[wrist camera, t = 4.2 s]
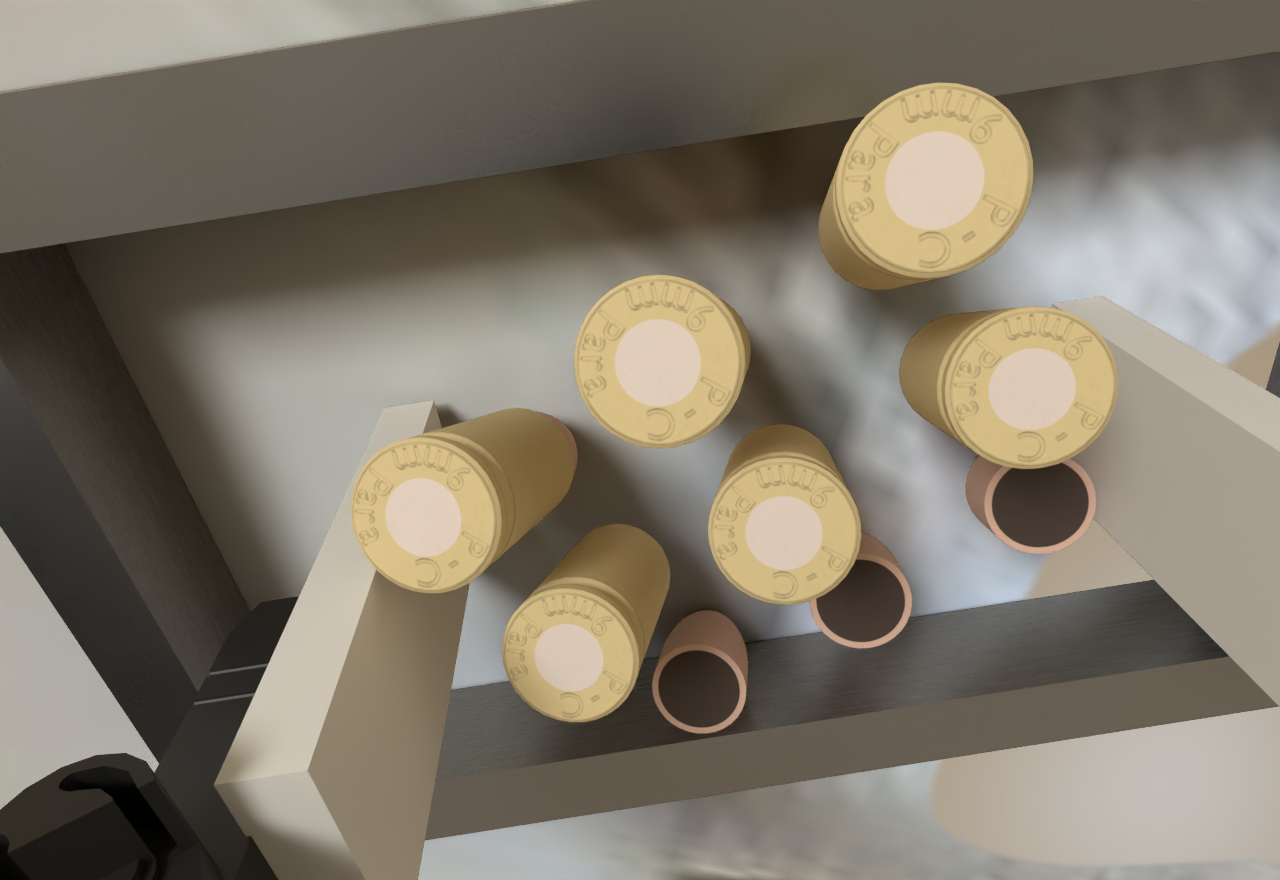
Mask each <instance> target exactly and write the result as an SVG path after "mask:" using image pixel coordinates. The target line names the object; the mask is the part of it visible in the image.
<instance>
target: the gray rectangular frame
mask: <svg viewBox="0 0 1280 880" xmlns="http://www.w3.org/2000/svg"><path fill="white" fill-rule="evenodd" d="M1277 51H1280V0H578V1H572V2H565V3H559V4H553V5H546V6H540V7H534V8H527V9H521V10H515V11H508V12H502V13H496V14H490V15H483V16H477V17H471V18H464V19H458V20H452V21H445V22H439V23H433V24H426V25H420V26H414V27H407V28H401V29H395V30H388V31H382V32H376V33H370V34H363V35H357V36H351V37H344V38H338V39H332V40H325V41H319V42H313V43H306V44H300V45H294V46H287V47H281V48H275V49H269V50H262V51H256V52H250V53H243V54H237V55H231V56H224V57H218V58H212V59H205V60H199V61H193V62H186V63H180V64H174V65H168V66H161V67H155V68H149V69H142V70H136V71H130V72H123V73H117V74H111V75H104V76H98V77H92V78H85V79H79V80H73V81H67V82H60V83H54V84H48V85H41V86H35V87H29V88H22V89H16V90H10V91H3V92H0V526H1V528H2V529H3V531H4V532H5V534H6V535H7V537H8V538H9V540H10V541H11V543H12V544H13V546H14V547H15V549H16V550H17V552H18V553H19V555H20V556H21V558H22V559H23V561H24V562H25V564H26V565H27V567H28V568H29V570H30V571H31V573H32V574H33V576H34V577H35V579H36V580H37V582H38V583H39V585H40V586H41V588H42V589H43V591H44V592H45V594H46V595H47V597H48V598H49V600H50V601H51V603H52V604H53V606H54V607H55V609H56V610H57V612H58V613H59V615H60V616H61V617H62V619H63V620H64V622H65V623H66V625H67V626H68V628H69V629H70V631H71V632H72V634H73V635H74V637H75V638H76V640H77V641H78V643H79V644H80V646H81V647H82V649H83V650H84V652H85V653H86V655H87V656H88V658H89V659H90V661H91V662H92V664H93V665H94V667H95V668H96V670H97V671H98V673H99V674H100V676H101V677H102V679H103V680H104V682H105V683H106V685H107V686H108V688H109V689H110V691H111V692H112V694H113V695H114V697H115V698H116V700H117V701H118V703H119V704H120V706H121V707H122V709H123V710H124V712H125V713H126V715H127V716H128V718H129V719H130V721H131V722H132V724H133V725H134V727H135V728H136V730H137V731H138V733H139V734H140V736H141V737H142V739H143V740H144V742H145V743H146V745H147V746H148V747H149V749H150V750H151V752H152V753H153V755H154V756H155V758H156V759H157V761H158V762H159V764H160V762H161V760H162V758H163V756H164V754H165V752H166V750H167V749H168V747H169V745H170V743H171V741H172V739H173V737H174V736H175V734H176V732H177V730H178V728H179V726H180V724H181V722H182V721H183V719H184V717H185V715H186V713H187V711H188V709H189V708H192V707H194V698H195V696H196V695H197V693H198V691H199V689H200V687H201V685H202V683H203V681H204V680H205V678H206V677H210V671H209V670H210V668H211V667H212V665H213V663H214V661H215V659H216V657H217V655H218V653H219V652H220V650H221V648H222V646H223V644H224V642H225V640H226V639H227V637H228V635H229V634H230V633H231V632H232V631H233V630H234V629H235V628H236V627H237V626H238V625H239V624H240V623H241V622H242V621H243V620H244V619H245V618H246V617H247V616H248V615H249V614H250V612H249V610H248V608H247V606H246V604H245V602H244V600H243V598H242V596H241V594H240V592H239V590H238V588H237V586H236V584H235V583H234V581H233V579H232V577H231V575H230V573H229V571H228V569H227V567H226V565H225V563H224V561H223V559H222V557H221V555H220V553H219V551H218V549H217V547H216V545H215V543H214V541H213V539H212V537H211V535H210V533H209V531H208V529H207V527H206V526H205V524H204V522H203V520H202V518H201V516H200V514H199V512H198V510H197V508H196V506H195V504H194V502H193V500H192V498H191V496H190V494H189V492H188V490H187V488H186V486H185V484H184V482H183V480H182V478H181V476H180V474H179V472H178V470H177V468H176V467H175V465H174V463H173V461H172V459H171V457H170V455H169V453H168V451H167V449H166V447H165V445H164V443H163V441H162V439H161V437H160V435H159V433H158V431H157V429H156V427H155V425H154V423H153V421H152V419H151V417H150V415H149V413H148V411H147V409H146V408H145V406H144V404H143V402H142V400H141V398H140V396H139V394H138V392H137V390H136V388H135V386H134V384H133V382H132V380H131V378H130V376H129V374H128V372H127V370H126V368H125V366H124V364H123V362H122V360H121V358H120V356H119V354H118V352H117V351H116V349H115V347H114V345H113V343H112V341H111V339H110V337H109V335H108V333H107V331H106V329H105V327H104V325H103V323H102V321H101V319H100V317H99V315H98V313H97V311H96V309H95V307H94V305H93V303H92V301H91V299H90V297H89V295H88V293H87V292H86V290H85V288H84V286H83V284H82V282H81V280H80V278H79V276H78V274H77V272H76V270H75V268H74V266H73V264H72V262H71V260H70V258H69V256H68V254H67V252H66V250H65V248H64V246H63V243H69V242H75V241H82V240H88V239H94V238H101V237H107V236H113V235H120V234H126V233H132V232H139V231H145V230H151V229H158V228H164V227H170V226H176V225H183V224H189V223H195V222H202V221H208V220H214V219H221V218H227V217H233V216H240V215H246V214H252V213H259V212H265V211H271V210H278V209H284V208H290V207H297V206H303V205H309V204H316V203H322V202H328V201H335V200H341V199H347V198H354V197H360V196H366V195H373V194H379V193H385V192H392V191H398V190H404V189H411V188H417V187H423V186H430V185H436V184H442V183H449V182H455V181H461V180H467V179H474V178H480V177H486V176H493V175H499V174H505V173H512V172H518V171H524V170H531V169H537V168H543V167H550V166H556V165H562V164H569V163H575V162H581V161H588V160H594V159H600V158H607V157H613V156H619V155H626V154H632V153H638V152H645V151H651V150H657V149H664V148H670V147H676V146H683V145H689V144H695V143H702V142H708V141H714V140H721V139H727V138H733V137H739V136H746V135H752V134H758V133H765V132H771V131H777V130H784V129H790V128H796V127H803V126H809V125H815V124H822V123H828V122H834V121H841V120H847V119H853V118H860V117H865V116H866V115H867V114H868V113H869V112H871V111H872V110H873V109H874V108H875V107H877V106H878V105H879V104H880V103H881V102H883V101H884V100H886V99H888V98H890V97H891V96H893V95H895V94H897V93H899V92H901V91H903V90H906V89H909V88H912V87H915V86H918V85H924V84H931V83H938V82H939V83H956V84H961V85H965V86H969V87H973V88H976V89H979V90H980V91H982V92H984V93H986V94H988V95H990V96H992V97H993V96H999V95H1005V94H1012V93H1018V92H1024V91H1030V90H1037V89H1043V88H1049V87H1056V86H1062V85H1068V84H1075V83H1081V82H1087V81H1094V80H1100V79H1106V78H1113V77H1119V76H1125V75H1132V74H1138V73H1144V72H1151V71H1157V70H1163V69H1170V68H1176V67H1182V66H1189V65H1195V64H1201V63H1208V62H1214V61H1220V60H1227V59H1233V58H1239V57H1246V56H1252V55H1258V54H1265V53H1271V52H1277ZM1266 390H1267V391H1268V392H1270V393H1272V394H1274V395H1275V396H1277V397H1279V398H1280V343H1279V347H1278V350H1277V354H1276V358H1275V361H1274V364H1273V368H1272V371H1271V374H1270V378H1269V381H1268V385H1267V388H1266ZM745 647H746V651H747V658H748V676H747V691H746V699H745V704H744V706H743V709H742V711H741V713H740V714H739V716H738V717H737V718H736V719H735V720H734V721H733V722H732V723H731V724H730V725H728V726H727V727H725V728H724V729H721V730H719V731H716V732H712V733H693V732H688V731H685V730H683V729H680V728H678V727H677V726H675V725H673V724H672V723H671V722H670V721H668V720H667V719H666V718H665V717H664V716H663V714H662V713H661V712H660V710H659V709H658V707H657V705H656V703H655V700H654V696H653V691H652V681H653V676H654V673H655V670H656V667H657V664H658V661H659V658H653V659H647V660H643V663H642V665H641V668H640V671H639V673H638V676H637V679H636V682H635V685H634V687H633V689H632V691H631V692H630V694H629V696H628V697H627V699H626V700H625V701H624V702H623V703H622V704H621V705H620V706H619V707H618V708H617V709H615V710H614V711H612V712H611V713H610V714H608V715H606V716H603V717H601V718H599V719H596V720H592V721H587V722H566V721H561V720H556V719H553V718H551V717H548V716H546V715H543V714H542V713H540V712H538V711H537V710H535V709H533V708H532V707H531V706H530V705H529V704H528V703H526V702H525V701H524V700H523V699H522V698H521V697H520V695H519V694H518V693H517V692H516V690H515V689H514V688H513V686H512V684H511V682H510V681H507V682H500V683H494V684H488V685H481V686H475V687H469V688H462V689H456V690H451V693H450V699H449V704H448V710H447V716H446V721H445V727H444V733H443V739H442V744H441V750H440V756H439V761H438V767H437V773H436V778H435V784H434V790H433V796H432V801H431V807H430V813H429V818H428V824H427V830H426V836H425V840H430V839H436V838H443V837H449V836H455V835H462V834H468V833H474V832H481V831H487V830H494V829H500V828H506V827H513V826H519V825H526V824H532V823H538V822H545V821H551V820H557V819H564V818H570V817H577V816H583V815H589V814H596V813H602V812H608V811H615V810H621V809H628V808H634V807H640V806H647V805H653V804H659V803H666V802H672V801H679V800H685V799H691V798H698V797H704V796H710V795H717V794H723V793H730V792H736V791H742V790H749V789H755V788H761V787H768V786H774V785H781V784H787V783H793V782H800V781H806V780H813V779H819V778H825V777H832V776H838V775H844V774H851V773H857V772H864V771H870V770H876V769H883V768H889V767H895V766H902V765H908V764H915V763H921V762H927V761H934V760H940V759H946V758H952V757H959V756H966V755H971V754H978V753H984V752H991V751H997V750H1004V749H1010V748H1017V747H1023V746H1029V745H1036V744H1041V743H1048V742H1054V741H1061V740H1068V739H1074V738H1080V737H1087V736H1092V735H1099V734H1106V733H1112V732H1119V731H1125V730H1131V729H1137V728H1144V727H1151V726H1157V725H1163V724H1169V723H1176V722H1182V721H1188V720H1195V719H1201V718H1208V717H1214V716H1221V715H1227V714H1233V713H1240V712H1246V711H1252V710H1259V709H1265V708H1272V707H1277V706H1278V705H1277V704H1276V703H1275V702H1274V701H1273V700H1272V699H1271V698H1270V697H1269V696H1268V695H1267V694H1266V693H1265V692H1264V691H1263V690H1262V689H1261V688H1260V687H1259V686H1258V685H1257V684H1256V683H1255V682H1254V681H1253V679H1252V678H1251V677H1250V676H1249V675H1248V674H1247V673H1246V672H1245V671H1244V670H1243V669H1242V668H1241V667H1240V666H1239V665H1238V664H1237V663H1236V662H1235V661H1234V660H1233V659H1232V658H1231V657H1230V656H1229V655H1228V654H1227V653H1226V652H1225V651H1224V650H1223V649H1222V648H1221V647H1220V646H1219V645H1218V644H1217V643H1216V642H1215V641H1214V640H1213V639H1212V638H1211V637H1210V636H1209V635H1208V634H1207V633H1206V632H1205V631H1204V630H1203V629H1202V628H1201V627H1200V626H1199V625H1198V624H1197V623H1196V622H1195V621H1194V620H1193V619H1192V618H1191V617H1190V616H1189V615H1188V614H1187V613H1186V612H1185V611H1184V610H1183V609H1182V608H1181V607H1180V606H1179V604H1178V603H1177V602H1176V601H1175V600H1174V599H1173V598H1172V597H1171V596H1170V595H1169V594H1168V593H1167V592H1166V591H1165V590H1164V589H1163V588H1162V587H1161V586H1160V585H1159V584H1158V583H1157V582H1156V581H1155V580H1150V581H1143V582H1137V583H1131V584H1124V585H1118V586H1112V587H1105V588H1099V589H1093V590H1087V591H1080V592H1073V593H1067V594H1061V595H1055V596H1048V597H1042V598H1035V599H1029V600H1022V601H1016V602H1010V603H1003V604H997V605H991V606H984V607H978V608H972V609H965V610H959V611H952V612H946V613H940V614H933V615H927V616H921V617H914V618H909V619H908V621H907V623H906V625H905V626H904V628H903V629H902V631H901V632H900V633H899V634H898V635H896V636H895V637H894V638H893V639H891V640H890V641H888V642H887V643H884V644H882V645H879V646H876V647H871V648H853V647H848V646H845V645H842V644H839V643H837V642H836V641H834V640H832V639H830V638H829V637H828V636H827V635H826V634H825V633H823V632H819V633H812V634H806V635H800V636H793V637H787V638H781V639H774V640H768V641H761V642H755V643H749V644H745Z"/></svg>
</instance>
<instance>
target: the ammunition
mask: <svg viewBox="0 0 1280 880" xmlns="http://www.w3.org/2000/svg"><path fill="white" fill-rule="evenodd" d="M1032 185H1033V159H1032V154H1031V150H1030V146H1029V142H1028V140H1027V138H1026V135H1025V133H1024V131H1023V129H1022V127H1021V125H1020V123H1019V122H1018V121H1017V120H1016V118H1015V117H1014V116H1013V115H1012V113H1011V112H1010V111H1009V109H1007V108H1006V107H1005V106H1004V105H1003V104H1001V103H1000V102H999V101H998V100H996V99H995V98H994V97H992V96H990V95H988V94H986V93H984V92H982V91H980V90H979V89H976V88H973V87H969V86H965V85H961V84H956V83H939V82H938V83H931V84H924V85H918V86H915V87H912V88H909V89H906V90H903V91H901V92H899V93H897V94H895V95H893V96H891V97H890V98H888V99H886V100H884V101H883V102H881V103H880V104H879V105H878V106H877V107H875V108H874V109H873V110H872V111H871V112H869V113H868V114H867V115H866V116H865V118H864V119H863V120H862V121H861V122H860V124H859V125H858V126H857V127H856V129H855V130H854V131H853V133H852V135H851V137H850V139H849V140H848V142H847V144H846V146H845V148H844V150H843V153H842V156H841V158H840V161H839V163H838V166H837V169H836V171H835V174H834V177H833V179H832V182H831V185H830V187H829V190H828V193H827V195H826V198H825V201H824V204H823V207H822V210H821V213H820V218H819V226H818V228H819V240H820V244H821V248H822V251H823V253H824V255H825V257H826V259H827V261H828V263H829V264H830V265H831V267H832V268H833V269H834V270H835V272H837V273H838V274H839V275H840V276H841V277H842V278H844V279H845V280H847V281H849V282H851V283H852V284H854V285H856V286H860V287H863V288H866V289H874V290H886V289H894V288H899V287H903V286H907V285H911V284H916V283H920V282H924V281H929V280H933V279H937V278H941V277H946V276H949V275H952V274H956V273H959V272H963V271H966V270H968V269H970V268H972V267H974V266H976V265H978V264H980V263H981V262H983V261H985V260H986V259H987V258H988V257H990V256H991V255H992V254H994V253H995V252H996V251H998V250H999V249H1000V248H1001V247H1002V246H1003V244H1004V243H1005V242H1006V241H1007V240H1008V239H1009V238H1010V237H1011V236H1012V234H1013V233H1014V231H1015V230H1016V228H1017V226H1018V225H1019V223H1020V222H1021V220H1022V218H1023V216H1024V214H1025V211H1026V208H1027V206H1028V203H1029V201H1030V196H1031V191H1032ZM750 355H751V348H750V339H749V335H748V332H747V329H746V327H745V325H744V323H743V321H742V319H741V317H740V316H739V315H738V314H737V312H736V311H735V310H734V309H733V308H732V307H731V306H730V305H729V304H727V303H726V302H725V301H724V300H722V299H721V298H719V297H718V296H716V295H715V294H713V293H712V292H710V291H709V290H707V289H705V288H704V287H702V286H700V285H698V284H696V283H694V282H693V281H689V280H686V279H683V278H680V277H676V276H667V275H651V276H642V277H639V278H636V279H632V280H629V281H626V282H624V283H622V284H621V285H619V286H617V287H615V288H613V289H612V290H610V291H609V292H608V293H607V294H605V295H604V296H603V297H602V298H601V299H600V300H598V302H597V303H596V304H595V305H594V307H593V308H592V309H591V310H590V312H589V313H588V314H587V316H586V318H585V320H584V322H583V324H582V326H581V328H580V331H579V334H578V338H577V341H576V344H575V354H574V368H575V378H576V382H577V385H578V388H579V392H580V395H581V397H582V399H583V401H584V402H585V404H586V406H587V408H588V410H589V411H590V412H591V414H592V415H593V416H594V417H595V419H596V420H597V421H598V422H599V423H600V424H601V425H602V426H603V427H604V428H606V429H607V430H608V431H609V432H610V433H612V434H614V435H615V436H617V437H619V438H621V439H622V440H624V441H626V442H629V443H632V444H635V445H638V446H642V447H649V448H657V449H658V448H673V447H677V446H681V445H685V444H688V443H691V442H693V441H695V440H697V439H699V438H701V437H703V436H705V435H706V434H708V433H709V432H710V431H712V430H713V429H714V428H716V427H717V426H718V425H719V424H720V423H721V422H722V421H723V419H724V418H725V417H726V416H727V415H728V414H729V412H730V411H731V409H732V407H733V405H734V404H735V402H736V400H737V398H738V396H739V393H740V391H741V388H742V385H743V382H744V379H745V376H746V373H747V370H748V367H749V363H750ZM899 374H900V384H901V388H902V392H903V394H904V396H905V398H906V400H907V402H908V403H909V404H910V406H911V407H912V408H913V409H914V411H916V412H917V413H918V414H919V415H920V416H922V417H923V418H924V419H926V420H927V421H929V422H930V423H932V424H933V425H935V426H936V427H938V428H939V429H941V430H942V431H944V432H945V433H947V434H948V435H950V436H951V437H953V438H954V439H956V440H957V441H958V442H960V443H961V444H963V445H964V446H966V447H967V448H969V449H971V450H972V451H974V452H975V453H977V454H978V455H980V456H979V457H978V458H977V459H976V460H975V462H974V463H973V465H972V466H971V468H970V470H969V473H968V476H967V480H966V497H967V501H968V504H969V506H970V508H971V510H972V512H973V513H974V514H975V516H976V517H977V518H978V519H979V520H980V521H981V522H982V523H983V524H984V525H985V526H986V527H987V528H988V529H989V530H990V531H991V532H993V533H994V534H995V535H996V536H997V537H998V538H999V539H1000V540H1001V541H1003V542H1004V543H1005V544H1006V545H1008V546H1010V547H1012V548H1014V549H1016V550H1019V551H1022V552H1025V553H1032V554H1047V553H1051V552H1056V551H1059V550H1061V549H1064V548H1066V547H1068V546H1070V545H1071V544H1073V543H1074V542H1076V541H1077V540H1078V539H1079V538H1080V537H1081V536H1082V535H1083V534H1084V533H1085V532H1086V530H1087V529H1088V527H1089V526H1090V524H1091V522H1092V519H1093V517H1094V514H1095V509H1096V493H1095V489H1094V485H1093V483H1092V481H1091V479H1090V477H1089V475H1088V474H1087V473H1086V472H1085V470H1084V469H1083V468H1082V467H1081V466H1080V465H1078V464H1077V463H1076V462H1075V461H1073V460H1071V459H1070V458H1072V457H1074V456H1075V455H1077V454H1078V453H1080V452H1081V451H1083V450H1084V449H1086V448H1087V447H1088V446H1089V445H1090V444H1091V443H1092V442H1093V441H1094V440H1095V439H1096V438H1097V437H1098V436H1099V435H1100V434H1101V432H1102V431H1103V429H1104V428H1105V426H1106V425H1107V423H1108V422H1109V420H1110V417H1111V415H1112V413H1113V410H1114V408H1115V404H1116V399H1117V394H1118V372H1117V368H1116V363H1115V359H1114V357H1113V355H1112V353H1111V350H1110V348H1109V346H1108V344H1107V343H1106V342H1105V340H1104V339H1103V338H1102V337H1101V335H1100V334H1099V333H1098V331H1096V330H1095V329H1094V328H1093V327H1092V326H1090V325H1089V324H1088V323H1087V322H1086V321H1084V320H1082V319H1080V318H1079V317H1077V316H1075V315H1073V314H1071V313H1068V312H1065V311H1062V310H1058V309H1055V308H1047V307H1037V306H1036V307H1024V308H1013V309H1002V310H992V311H981V312H970V313H960V314H950V315H947V316H943V317H940V318H937V319H935V320H933V321H931V322H929V323H928V324H926V325H925V326H924V327H922V328H921V329H920V330H918V332H917V333H916V334H915V335H914V336H913V337H912V338H911V340H910V341H909V343H908V344H907V346H906V348H905V350H904V353H903V355H902V358H901V363H900V369H899ZM577 459H578V454H577V446H576V442H575V439H574V437H573V435H572V433H571V432H570V430H569V429H568V428H567V427H566V426H565V425H564V424H563V423H562V422H561V421H559V420H558V419H556V418H554V417H553V416H551V415H548V414H545V413H541V412H537V411H532V410H529V409H522V408H512V409H505V410H502V411H499V412H495V413H492V414H488V415H485V416H482V417H478V418H475V419H471V420H468V421H465V422H461V423H458V424H454V425H451V426H448V427H444V428H441V429H437V430H434V431H430V432H427V433H424V434H420V435H417V436H413V437H410V438H407V439H403V440H400V441H397V442H393V443H392V444H390V445H388V446H386V447H384V448H382V449H381V450H379V451H378V452H377V453H376V454H375V455H374V456H373V457H371V458H370V459H369V461H368V462H367V463H366V465H365V466H364V467H363V469H362V470H361V472H360V474H359V476H358V478H357V480H356V482H355V485H354V489H353V493H352V498H351V519H352V526H353V530H354V533H355V536H356V539H357V542H358V544H359V546H360V548H361V550H362V551H363V553H364V555H365V557H366V558H367V559H368V560H369V562H370V563H371V564H372V565H373V567H374V568H375V569H376V570H377V571H379V572H380V573H381V574H382V575H383V576H384V577H385V578H387V579H388V580H390V581H392V582H393V583H395V584H397V585H398V586H401V587H403V588H406V589H409V590H412V591H416V592H422V593H444V592H448V591H452V590H456V589H458V588H460V587H462V586H464V585H466V584H469V583H470V582H471V581H473V580H474V579H475V578H476V577H478V576H479V575H480V574H481V573H483V572H484V571H485V570H486V569H487V568H488V567H489V566H490V565H491V564H492V563H494V562H495V561H496V560H497V559H498V558H499V557H501V556H502V555H503V554H504V553H505V552H506V551H507V550H508V549H510V548H511V547H512V546H513V545H514V544H515V543H516V542H517V541H518V540H520V539H521V538H522V537H523V536H524V535H525V534H526V533H527V532H529V531H530V530H531V529H532V528H533V527H534V526H535V525H536V524H537V523H539V522H540V521H541V520H542V519H543V518H544V517H545V516H546V515H548V514H549V513H550V512H551V511H552V510H553V509H554V508H555V507H556V506H558V505H559V503H560V502H561V501H562V500H563V499H564V497H565V496H566V494H567V492H568V490H569V488H570V486H571V482H572V479H573V477H574V473H575V470H576V467H577ZM708 537H709V544H710V548H711V551H712V555H713V557H714V559H715V561H716V563H717V565H718V567H719V569H720V570H721V572H722V573H723V574H724V575H725V577H726V578H727V579H728V580H729V581H730V582H731V583H732V584H733V585H734V586H736V587H737V588H738V589H739V590H740V591H742V592H744V593H746V594H747V595H749V596H751V597H753V598H755V599H758V600H761V601H764V602H767V603H774V604H780V605H784V604H799V603H803V602H808V601H809V602H810V608H811V612H812V615H813V618H814V620H815V622H816V624H817V625H818V626H819V628H820V629H821V630H822V632H823V633H825V634H826V635H827V636H828V637H829V638H830V639H832V640H834V641H836V642H837V643H839V644H842V645H845V646H848V647H853V648H871V647H876V646H879V645H882V644H884V643H887V642H888V641H890V640H891V639H893V638H894V637H895V636H896V635H898V634H899V633H900V632H901V631H902V629H903V628H904V626H905V625H906V623H907V621H908V619H909V616H910V614H911V608H912V594H911V590H910V587H909V584H908V582H907V580H906V578H905V576H904V574H903V572H902V571H901V569H900V567H899V565H898V563H897V561H896V559H895V558H894V556H893V555H892V554H891V552H890V551H889V550H888V549H887V548H886V547H885V546H884V545H883V544H882V543H881V542H879V541H878V540H877V539H875V538H873V537H872V536H870V535H868V534H866V533H863V532H861V521H860V517H859V513H858V510H857V506H856V504H855V502H854V500H853V498H852V496H851V494H850V492H849V490H848V489H847V487H846V485H845V483H844V481H843V479H842V477H841V475H840V473H839V471H838V469H837V467H836V465H835V463H834V461H833V459H832V457H831V456H830V454H829V452H828V450H827V448H826V447H825V446H824V445H823V443H822V442H821V441H820V440H819V439H818V438H816V437H815V436H814V435H813V434H811V433H810V432H808V431H806V430H804V429H802V428H799V427H796V426H793V425H784V424H777V425H769V426H765V427H762V428H759V429H757V430H755V431H753V432H751V433H750V434H748V435H747V436H746V437H744V438H743V439H742V440H741V441H740V442H739V443H738V445H737V446H736V447H735V449H734V450H733V452H732V454H731V456H730V458H729V461H728V464H727V466H726V469H725V472H724V475H723V477H722V480H721V483H720V486H719V488H718V491H717V494H716V497H715V500H714V503H713V505H712V508H711V511H710V515H709V523H708ZM670 577H671V576H670V566H669V563H668V560H667V557H666V555H665V553H664V551H663V549H662V548H661V546H660V545H659V544H658V542H657V541H656V540H655V539H654V538H652V537H651V536H650V535H649V534H648V533H646V532H644V531H642V530H641V529H639V528H636V527H633V526H630V525H624V524H609V525H605V526H601V527H599V528H597V529H595V530H592V531H591V532H590V533H588V534H587V535H586V536H584V537H583V538H582V539H581V540H580V542H579V543H578V544H577V545H576V546H575V547H574V548H573V549H572V550H571V551H570V552H569V553H568V555H567V556H566V557H565V558H564V559H563V560H562V561H561V562H560V563H559V564H558V565H557V566H556V568H555V569H554V570H553V571H552V572H551V573H550V574H549V575H548V576H547V577H546V578H545V579H544V581H543V582H542V583H541V584H540V585H539V586H538V587H537V588H536V589H535V590H534V591H533V592H532V594H531V595H530V596H529V597H528V598H527V599H526V600H525V601H524V602H523V603H522V604H521V606H520V607H519V608H518V609H517V610H516V611H515V613H514V614H513V615H512V617H511V619H510V621H509V623H508V624H507V626H506V630H505V633H504V637H503V645H502V655H503V663H504V667H505V670H506V673H507V676H508V678H509V680H510V682H511V684H512V686H513V688H514V689H515V690H516V692H517V693H518V694H519V695H520V697H521V698H522V699H523V700H524V701H525V702H526V703H528V704H529V705H530V706H531V707H532V708H533V709H535V710H537V711H538V712H540V713H542V714H543V715H546V716H548V717H551V718H553V719H556V720H561V721H566V722H587V721H592V720H596V719H599V718H601V717H603V716H606V715H608V714H610V713H611V712H612V711H614V710H615V709H617V708H618V707H619V706H620V705H621V704H622V703H623V702H624V701H625V700H626V699H627V697H628V696H629V694H630V692H631V691H632V689H633V687H634V685H635V682H636V679H637V676H638V673H639V671H640V668H641V665H642V663H643V660H644V657H645V654H646V651H647V649H648V646H649V643H650V640H651V637H652V635H653V632H654V629H655V626H656V623H657V621H658V618H659V615H660V612H661V609H662V607H663V604H664V601H665V598H666V595H667V592H668V589H669V586H670ZM747 676H748V658H747V651H746V647H745V643H744V640H743V638H742V636H741V634H740V632H739V630H738V628H737V627H736V626H735V624H734V623H733V622H732V621H731V620H730V619H729V618H728V617H727V616H725V615H723V614H721V613H719V612H716V611H711V610H702V611H698V612H695V613H693V614H691V615H689V616H687V617H686V618H684V619H683V620H681V621H680V622H679V623H678V624H677V626H676V627H675V628H674V629H673V630H672V631H671V633H670V634H669V636H668V638H667V639H666V641H665V643H664V646H663V649H662V652H661V655H660V658H659V661H658V664H657V667H656V670H655V673H654V676H653V681H652V691H653V696H654V700H655V703H656V705H657V707H658V709H659V710H660V712H661V713H662V714H663V716H664V717H665V718H666V719H667V720H668V721H670V722H671V723H672V724H673V725H675V726H677V727H678V728H680V729H683V730H685V731H688V732H693V733H712V732H716V731H719V730H721V729H724V728H725V727H727V726H728V725H730V724H731V723H732V722H733V721H734V720H735V719H736V718H737V717H738V716H739V714H740V713H741V711H742V709H743V706H744V704H745V699H746V691H747Z"/></svg>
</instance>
